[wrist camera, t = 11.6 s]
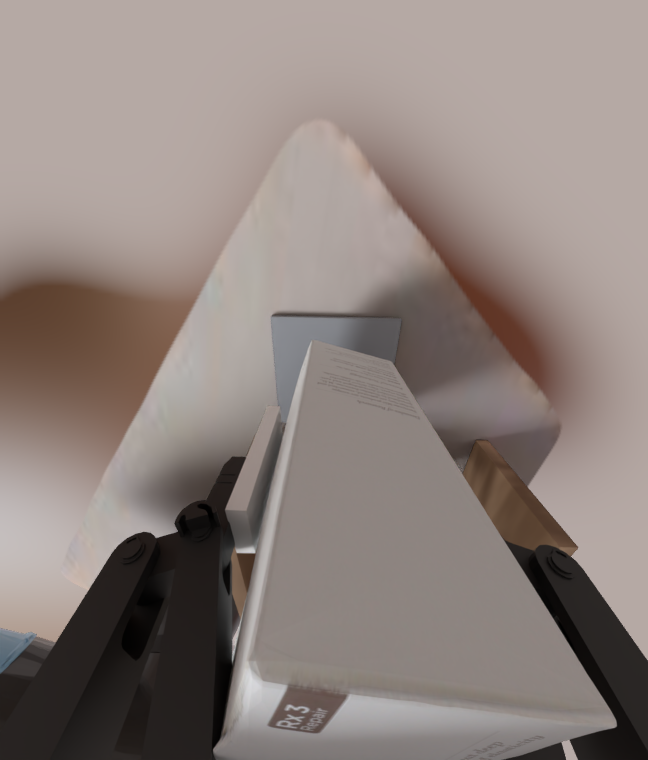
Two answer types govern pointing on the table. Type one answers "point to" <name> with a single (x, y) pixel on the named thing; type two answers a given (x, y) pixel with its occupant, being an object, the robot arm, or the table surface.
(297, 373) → the grey rubber mat
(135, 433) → the table surface
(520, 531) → the walnut rack
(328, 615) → the skincare box
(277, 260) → the table surface
